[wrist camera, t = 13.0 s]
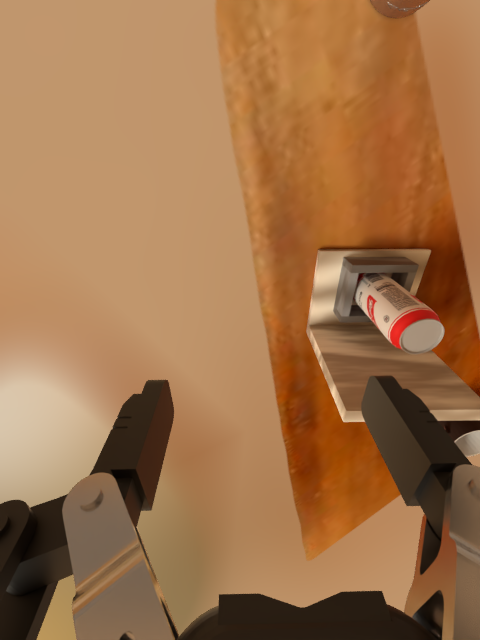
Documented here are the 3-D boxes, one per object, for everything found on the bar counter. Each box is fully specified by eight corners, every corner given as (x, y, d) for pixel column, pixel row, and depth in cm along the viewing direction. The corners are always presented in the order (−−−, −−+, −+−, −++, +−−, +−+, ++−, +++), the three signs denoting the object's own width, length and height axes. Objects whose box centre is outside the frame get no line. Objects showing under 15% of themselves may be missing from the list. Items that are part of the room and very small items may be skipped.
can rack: (398, 330, 52) (484, 420, 34) (306, 331, 52) (343, 421, 34) (427, 248, 44) (560, 309, 26) (318, 249, 44) (374, 310, 26)
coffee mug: (467, 403, 63) (504, 441, 54) (434, 422, 66) (463, 461, 58) (441, 379, 59) (476, 417, 50) (407, 401, 62) (434, 440, 54)
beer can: (382, 261, 44) (448, 307, 30) (388, 293, 47) (450, 348, 33) (344, 276, 45) (391, 326, 32) (352, 306, 48) (398, 364, 35)
